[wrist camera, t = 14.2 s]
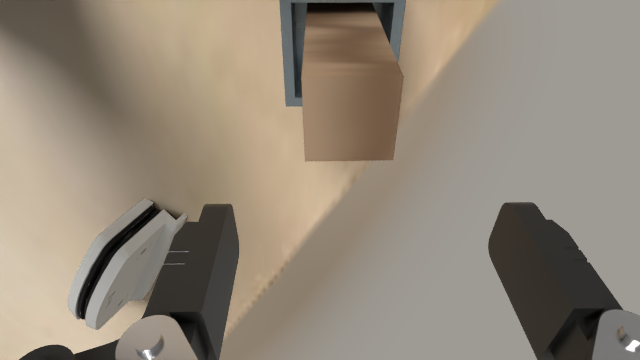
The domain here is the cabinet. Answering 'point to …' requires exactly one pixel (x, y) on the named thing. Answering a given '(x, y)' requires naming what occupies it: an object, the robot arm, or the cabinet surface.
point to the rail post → (348, 84)
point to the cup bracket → (293, 22)
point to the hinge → (122, 263)
